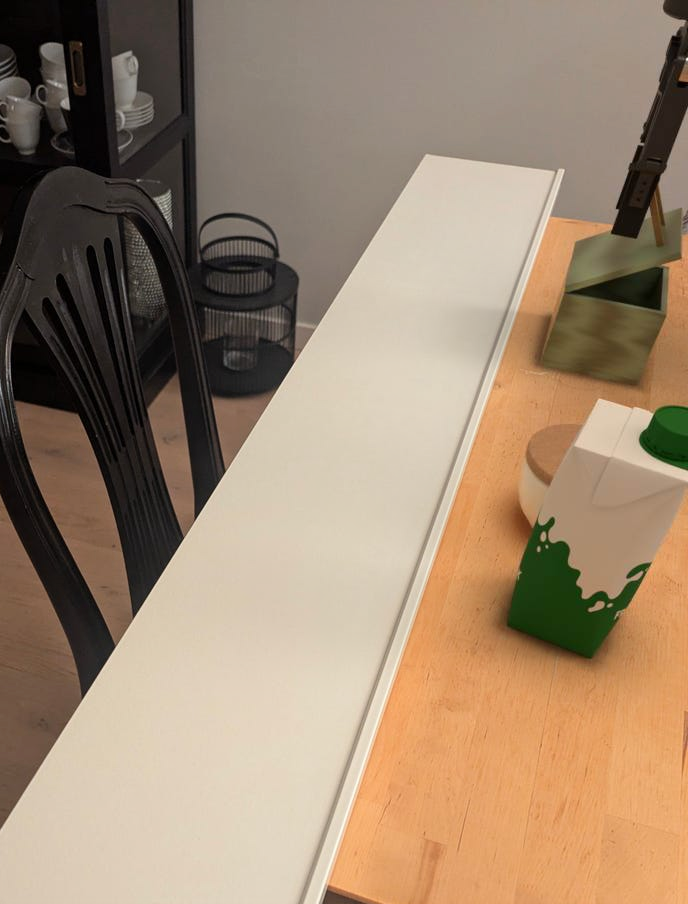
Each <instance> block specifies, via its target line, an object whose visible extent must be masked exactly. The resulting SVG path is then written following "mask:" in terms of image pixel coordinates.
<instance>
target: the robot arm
mask: <svg viewBox="0 0 688 904" xmlns="http://www.w3.org/2000/svg"><path fill="white" fill-rule="evenodd" d="M662 11H663V13H664V14H665V15H666V16H668V17H670V18H672V19H675V20H678V21H685V22H684V24H683V26H682V25H681V26H680V27H679V28H678V30H677V31H676V34H675V35H674V34H672V35H671V37H670V40H669V42H668V44H667V48H666V51H665V59H664V63H663V65H662V68H661V70H660V74H659V78H658V82H659V84H658V86H657V91H656V93H655V96H654V98H653V102H652V104H651V107H650V110H649V112H648V115H647V118H646V121H645V122H644V123H643V125H642V133H641V134H640V137H639V143H640V144H637V146H636V149H635V152H634V155H633V158H632V161H631V162H630V163H629V164H628V167H627V170H628V171H627V174H626V177H625V179H624V183H623V185H622V188H621V192H620V193H619V197H618V199H617V202H616V205H615V210H618V211H617V214H616V216H615V219H614V223H613V225H612V228H611V229H610V230H611V234H613V235H618V236H623V237H629V238H634V239H637V237H638V234H639V232H640V229H641V226H642V224H643V221H644V219H646V216H647V212H648V211H649V209H650V207H649V205H650V203H651V200H652V198H653V195H654V192H655V190H656V187H657V185H658V182H659V179H660V180H661V176H662V175H663V174H664V173H665V171H666V170H667V167H668V161H669V159H670V156H671V153H672V150H673V148H674V145H675V142H676V141H677V137H678V134H679V132H680V129H681V127H682V124H683V121H684V118H685V116H686V113H687V110H688V0H664V1H663V4H662ZM649 157H652V158H649ZM654 158H658V159H654ZM659 183H660V182H659Z"/></svg>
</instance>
